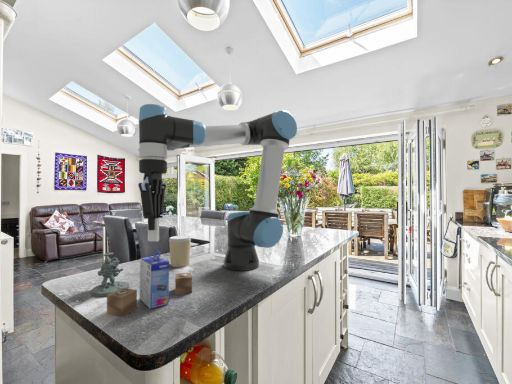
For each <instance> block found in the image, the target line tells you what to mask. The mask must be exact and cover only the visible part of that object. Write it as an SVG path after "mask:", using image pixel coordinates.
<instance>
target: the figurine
mask: <svg viewBox="0 0 512 384" xmlns="http://www.w3.org/2000/svg"><path fill="white" fill-rule="evenodd" d="M102 255H103V257H106V258H105V260H103V263H102V265H101V267H100V270H98V271H97V275H98V276H99V277H103V279H102V281H101V282H100V284H99V285H96V286H94V287H92V288H91V290H90V294H91V296H93V297H95V298H97V297H98V298H104V297H106V298H107V295H108V294H110V293H113V292H115V291H117V290H119V289H121V288H125V289H130V287H129V286H130V284H129V282H127V281H123V280H122V281H121V280H120V281H118V280H117V281H116V277H119V275H120V273H121V272H123V270H124V268H118V266H119V264H120V261H121V260H120V259H119V258H117V257H115V256H113V257H111V258H110V256H112V255H114V252H109V251H107V252H106V253H103V254H102ZM108 279H109V282H108Z"/></svg>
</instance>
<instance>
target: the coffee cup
mask: <svg viewBox="0 0 512 384" xmlns="http://www.w3.org/2000/svg"><path fill="white" fill-rule="evenodd" d="M191 242H192V237H191V236H190V235H174V236H171V237H169V239H168V243H169V255H170V257H169V258H170V265H171V267H173V268H182V267H183V268H184V267H187V266H189V265H190V261H191V260H190V259H191V248H192V247H191Z"/></svg>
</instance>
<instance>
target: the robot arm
mask: <svg viewBox="0 0 512 384" xmlns="http://www.w3.org/2000/svg"><path fill="white" fill-rule="evenodd" d="M297 132H298V126H297V122H296V118H295V117H294V116H293V115H292V114H291V113H290V112H289V111H288V110H285V109H280V110H277V111H273V112H272V113H269V114H267V115H264V116H261V117H258V118H255V119H252V120H250V121H246V122H245V121H244V122H240V123H238V124H230V125H229V124H228V125H227V124H226V125H205V124H204V123H203V122H201V121H197V120H194V119H186V118H182V117H175V116H172V115H168V110H167V108H166V107H165V106H162V105H160V104H155V103H145V104H142V106H140V107H139V113H138V138H139V140H138V142H139V143H138V144H139V147H138V150H137V151H138V153H139V154H138V155H139V156H138V157H139V158H140V160H139V162H138V171H139V173H141V174H143V178H142V180H143V181H142V182H138V188H139V192H140V199H141V200H140V201H141V205H142V206H141V209H142V215H143V219H144V220H147V242H159V241H160V219H162V218H163V213H164V212H163V211H164V204H165V203H164V201H165V194H166V193H165V191H166V188H167V185H166V183H165V184H164V183H163V182H164V181H163V176H162V175H164V174H167V173H168V162H167V161H166V160H167V159H168V151H175V150H177V149H179V150H180V149H188V148H198V147H210V146H211V147H212V146H221V145H232V144H233V145H235V144H236V145H237V144H240V145H242V146H249V145H252V146H259V145H260V146H262V153H261V159H260V160H261V161H260V166H259V174H258V179H257V186H256V192H255V198H254V203H253V204H254V205H253V206H252V207H251V208H249V211H248V210H247V211H237V212H231V213H229V214H228V216H227V220H226V221H227V222H226V223H227V250H226V253H225V257H224V259H223V267H224V268H225V269H228V270H231V271H250V270H255V269H257V268H258V267H259V266H260V259H259V256H258V252H257V250H256V246H257V247H258V248H265V249H266V248H267V249H268V248H269V249H271V248H273V247H275V246H276V245H277V244H278V243H279V242H280V241H281V238H282V236H283V233H284V225H283V224H282V223H283V222H282V221H281V220H280V219H279V217H280V213H279V212H278V210H277V202H278V196H279V189H280V182H281V176H282V167H283V163H284V162H283V161H284V155H285V150H287V149H288V148H289V147H290V140H292V139H294V137H295V136H296V135H297Z"/></svg>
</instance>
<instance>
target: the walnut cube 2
mask: <svg viewBox="0 0 512 384" xmlns="http://www.w3.org/2000/svg"><path fill="white" fill-rule="evenodd" d="M174 277H175V278H174V279H175V280H174V281H175V284H174V285H175V289H174V291H175V294H174V295H176V296H178V295H185V294H192V293H193V274H192V272H190V271H189V272H182V273H179V272H178V273H175V276H174Z"/></svg>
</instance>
